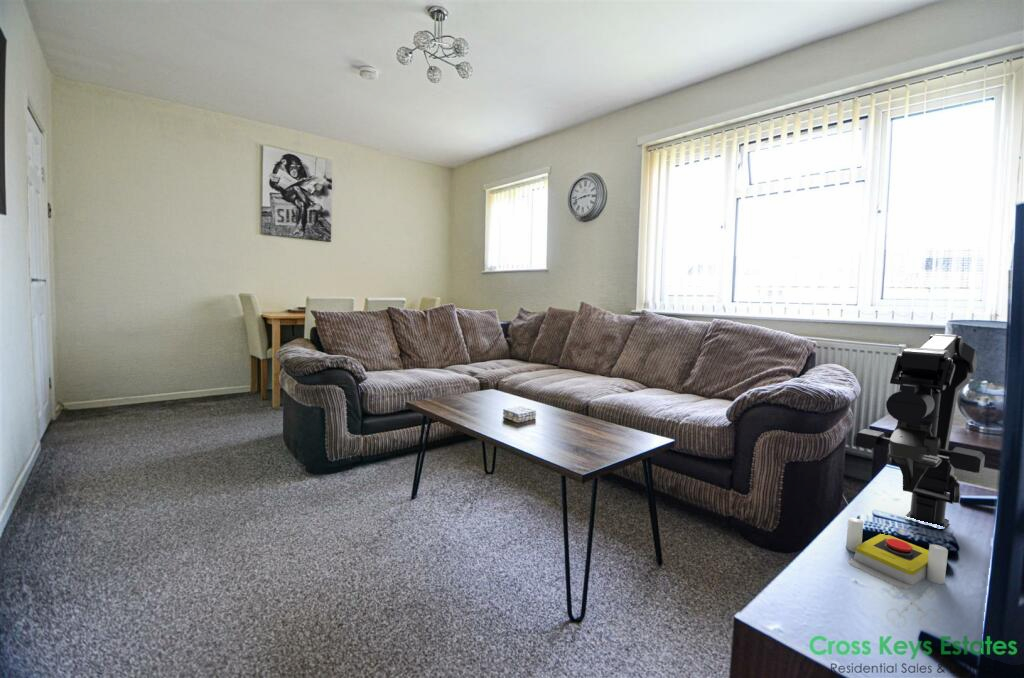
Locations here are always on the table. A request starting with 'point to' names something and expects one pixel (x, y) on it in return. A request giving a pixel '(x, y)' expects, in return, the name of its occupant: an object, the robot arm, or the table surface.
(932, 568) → the post
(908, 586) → the emergency button
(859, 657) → the table surface
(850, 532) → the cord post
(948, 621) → the table surface
